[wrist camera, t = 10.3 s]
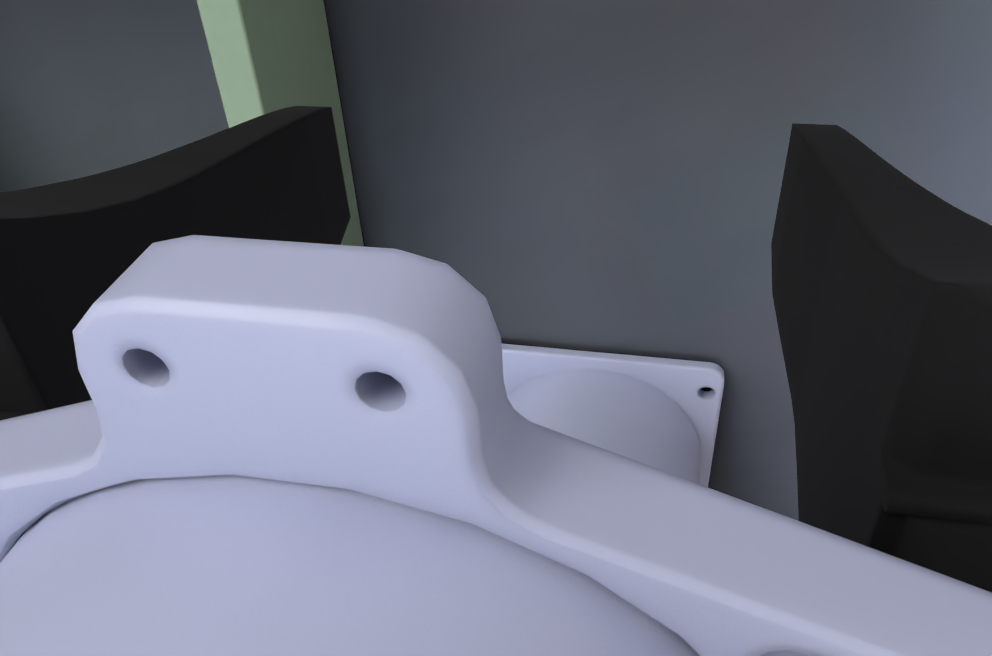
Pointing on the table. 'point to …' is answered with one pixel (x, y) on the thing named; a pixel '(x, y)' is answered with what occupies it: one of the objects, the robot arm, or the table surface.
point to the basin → (277, 67)
